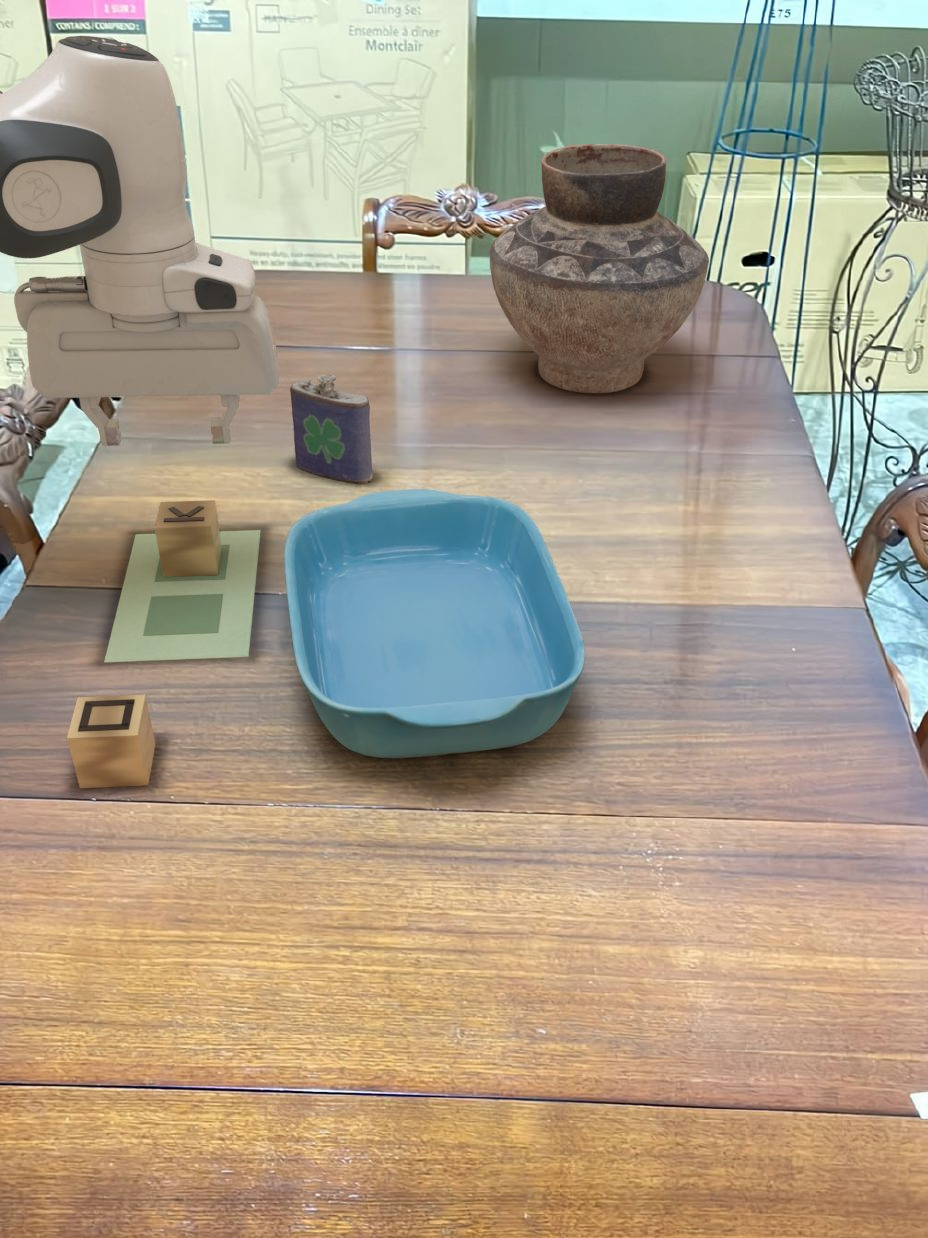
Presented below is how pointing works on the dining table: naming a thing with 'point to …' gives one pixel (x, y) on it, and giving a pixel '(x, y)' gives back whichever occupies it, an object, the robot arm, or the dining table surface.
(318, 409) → the flask
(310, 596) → the casserole dish
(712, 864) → the dining table surface
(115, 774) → the letter O
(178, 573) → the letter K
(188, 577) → the word mat
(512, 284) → the ceramic pot
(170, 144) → the robot arm
